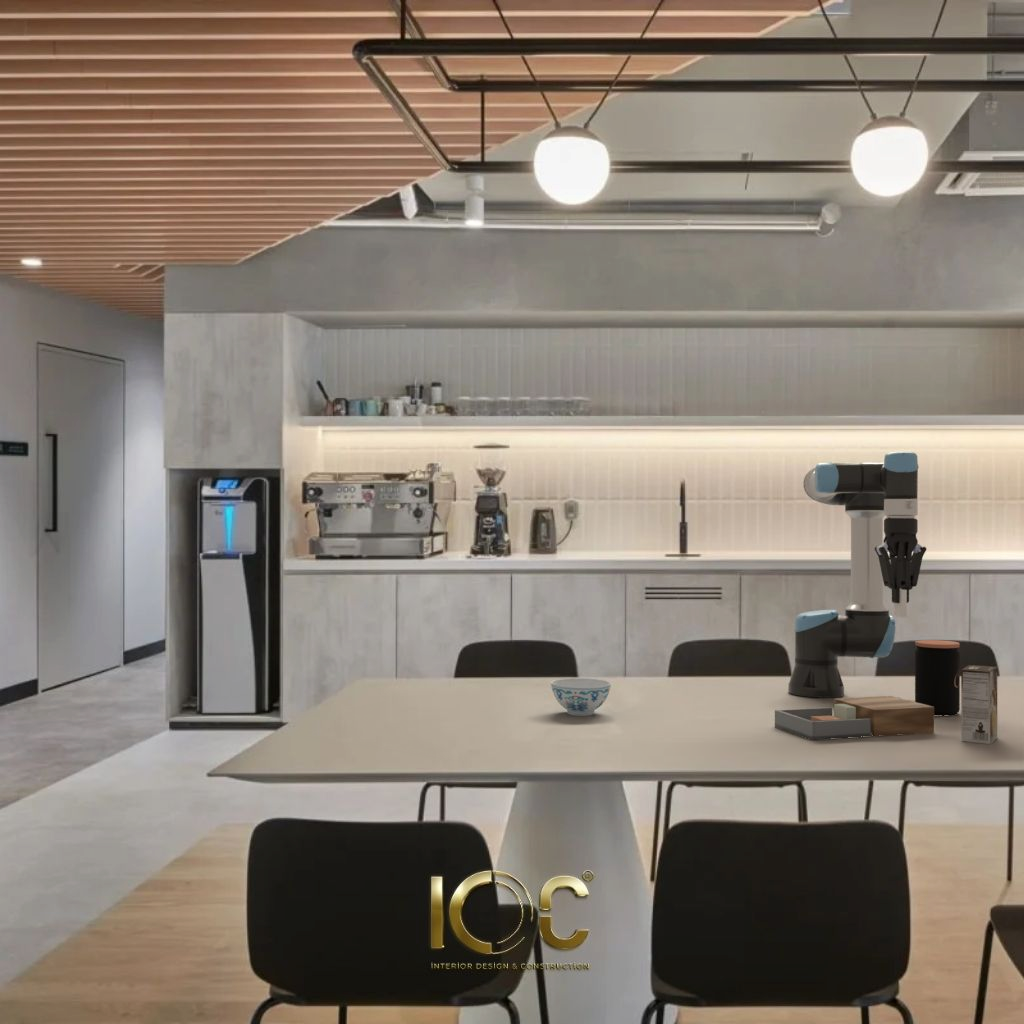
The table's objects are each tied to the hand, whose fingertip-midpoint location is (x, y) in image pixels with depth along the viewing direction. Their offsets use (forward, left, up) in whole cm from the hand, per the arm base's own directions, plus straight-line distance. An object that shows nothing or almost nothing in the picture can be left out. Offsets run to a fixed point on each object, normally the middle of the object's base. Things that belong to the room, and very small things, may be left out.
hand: (900, 616), depth 259 cm
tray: (0, -21, -26) cm, 34 cm away
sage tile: (0, -14, -23) cm, 27 cm away
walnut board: (0, -5, -26) cm, 27 cm away
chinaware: (-37, -67, -26) cm, 81 cm away
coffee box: (+17, +8, -26) cm, 33 cm away
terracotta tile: (+1, -21, -23) cm, 31 cm away
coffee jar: (-14, +21, -26) cm, 37 cm away
